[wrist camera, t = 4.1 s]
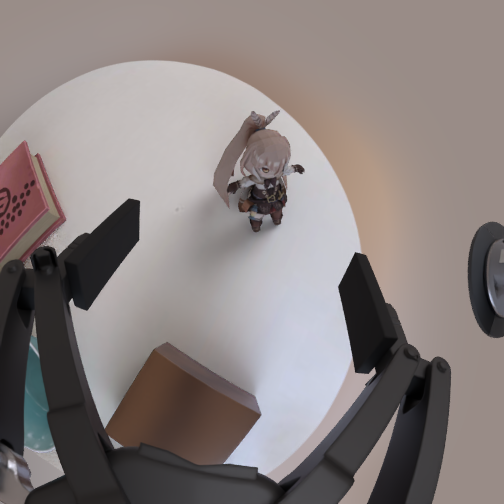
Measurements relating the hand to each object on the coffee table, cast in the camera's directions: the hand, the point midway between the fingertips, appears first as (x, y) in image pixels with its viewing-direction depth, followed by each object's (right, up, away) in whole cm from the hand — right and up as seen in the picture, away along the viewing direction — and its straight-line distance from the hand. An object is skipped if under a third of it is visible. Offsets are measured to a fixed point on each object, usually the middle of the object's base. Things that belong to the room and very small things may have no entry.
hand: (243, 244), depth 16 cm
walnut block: (-7, -19, +12) cm, 23 cm away
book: (-35, +5, +15) cm, 38 cm away
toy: (+1, +6, +18) cm, 19 cm away
